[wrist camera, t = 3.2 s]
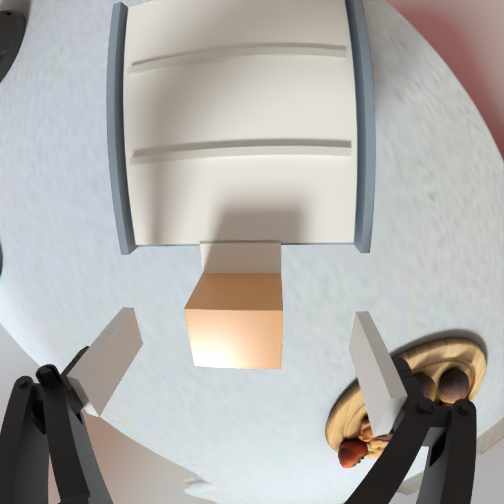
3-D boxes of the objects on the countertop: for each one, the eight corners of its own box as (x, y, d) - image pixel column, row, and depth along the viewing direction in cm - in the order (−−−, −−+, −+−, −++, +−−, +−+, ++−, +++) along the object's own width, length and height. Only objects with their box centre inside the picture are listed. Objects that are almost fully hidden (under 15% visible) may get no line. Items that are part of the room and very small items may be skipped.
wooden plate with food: (335, 463, 47) (339, 494, 39) (308, 377, 36) (314, 423, 29) (464, 414, 42) (477, 439, 34) (494, 305, 32) (522, 333, 24)
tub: (170, 50, 23) (113, 4, 11) (326, 41, 22) (357, -18, 10) (177, 212, 30) (121, 254, 18) (331, 209, 28) (369, 252, 17)
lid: (143, 19, 14) (96, -17, 8) (335, 4, 13) (358, -46, 7) (162, 303, 22) (128, 357, 16) (336, 305, 21) (357, 365, 15)
